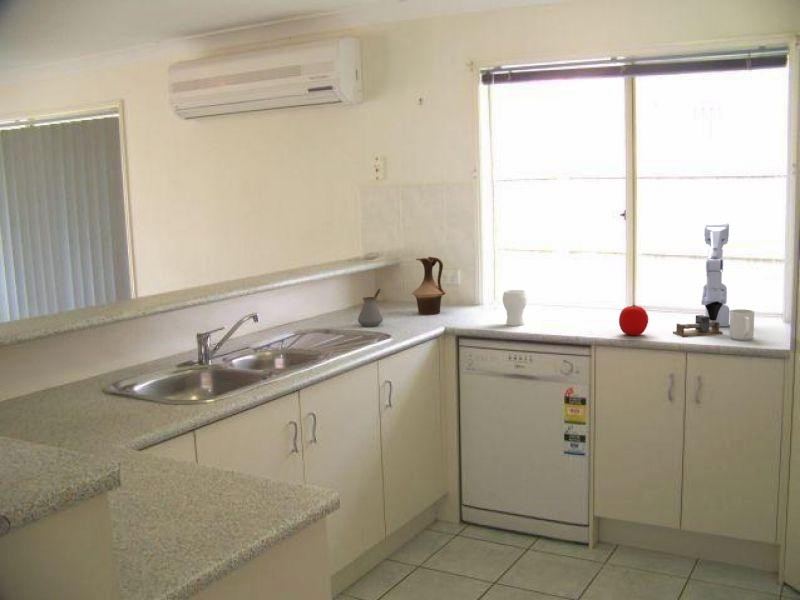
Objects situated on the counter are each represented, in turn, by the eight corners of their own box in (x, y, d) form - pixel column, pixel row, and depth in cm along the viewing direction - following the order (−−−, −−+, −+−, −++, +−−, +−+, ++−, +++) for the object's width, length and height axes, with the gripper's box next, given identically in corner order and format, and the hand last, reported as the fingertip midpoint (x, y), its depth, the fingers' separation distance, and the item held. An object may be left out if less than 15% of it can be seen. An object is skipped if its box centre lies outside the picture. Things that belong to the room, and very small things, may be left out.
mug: (726, 336, 344) (727, 309, 342) (749, 336, 343) (750, 309, 341) (735, 342, 332) (736, 314, 330) (758, 342, 331) (760, 314, 329)
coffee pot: (378, 328, 384) (377, 295, 381) (354, 327, 387) (353, 294, 385) (392, 319, 404) (391, 288, 401) (369, 319, 407) (368, 288, 405)
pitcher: (453, 311, 421) (452, 255, 417) (436, 317, 407) (435, 259, 403) (423, 309, 431) (421, 254, 426) (405, 314, 417) (403, 257, 412)
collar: (701, 329, 354) (702, 314, 353) (709, 331, 349) (709, 317, 348) (695, 329, 354) (695, 315, 353) (702, 331, 348) (702, 317, 347)
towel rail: (712, 330, 357) (712, 320, 356) (722, 334, 349) (723, 323, 348) (672, 333, 353) (672, 323, 352) (682, 337, 345) (683, 326, 345)
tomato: (630, 338, 345) (631, 308, 343) (612, 333, 356) (613, 304, 354) (655, 335, 350) (655, 305, 348) (636, 330, 361) (636, 301, 359)
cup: (500, 326, 380) (500, 292, 378) (506, 322, 390) (505, 289, 388) (524, 327, 376) (523, 293, 374) (529, 322, 386) (528, 290, 384)
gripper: (714, 284, 357) (713, 316, 359) (695, 288, 348) (694, 321, 350) (730, 286, 352) (729, 318, 354) (710, 290, 343) (709, 323, 345)
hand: (713, 320), depth 352 cm, fingers closed
